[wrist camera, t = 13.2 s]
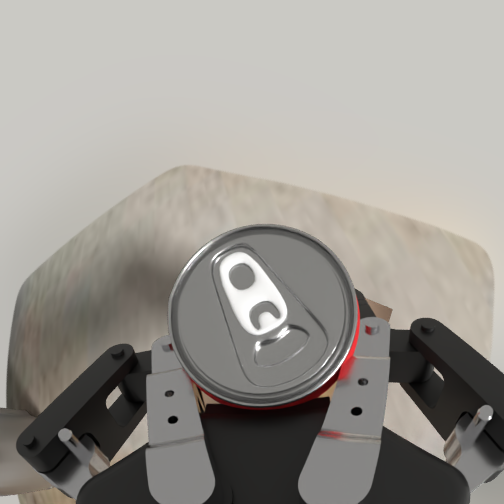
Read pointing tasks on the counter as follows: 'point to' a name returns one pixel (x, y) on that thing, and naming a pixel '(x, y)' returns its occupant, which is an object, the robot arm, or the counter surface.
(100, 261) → the counter surface
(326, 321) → the beverage can
